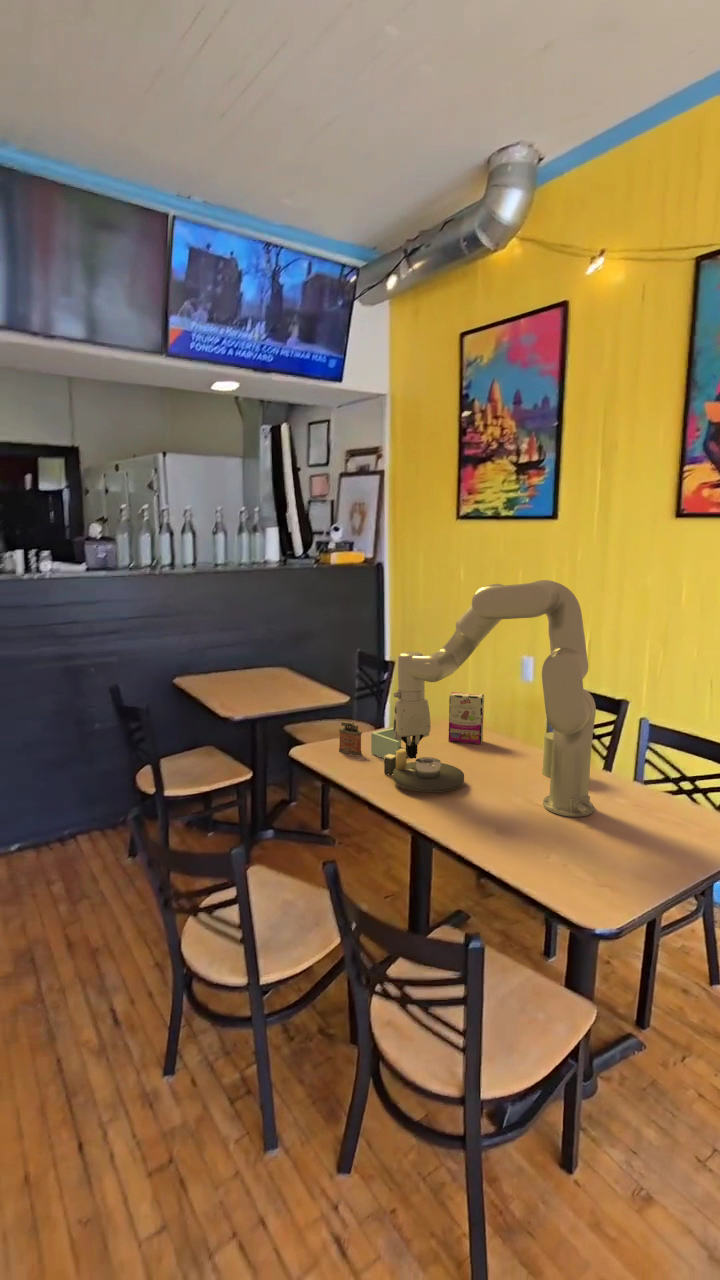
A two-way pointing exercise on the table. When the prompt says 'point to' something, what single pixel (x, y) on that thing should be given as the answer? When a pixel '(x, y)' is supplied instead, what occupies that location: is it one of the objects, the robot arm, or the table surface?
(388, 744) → the l-shaped corner panel
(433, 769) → the cover
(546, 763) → the can
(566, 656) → the robot arm
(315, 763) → the table surface
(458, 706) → the candy bar box
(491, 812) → the table surface
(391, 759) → the post
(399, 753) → the turntable
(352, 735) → the lighter
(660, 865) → the table surface
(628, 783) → the table surface
